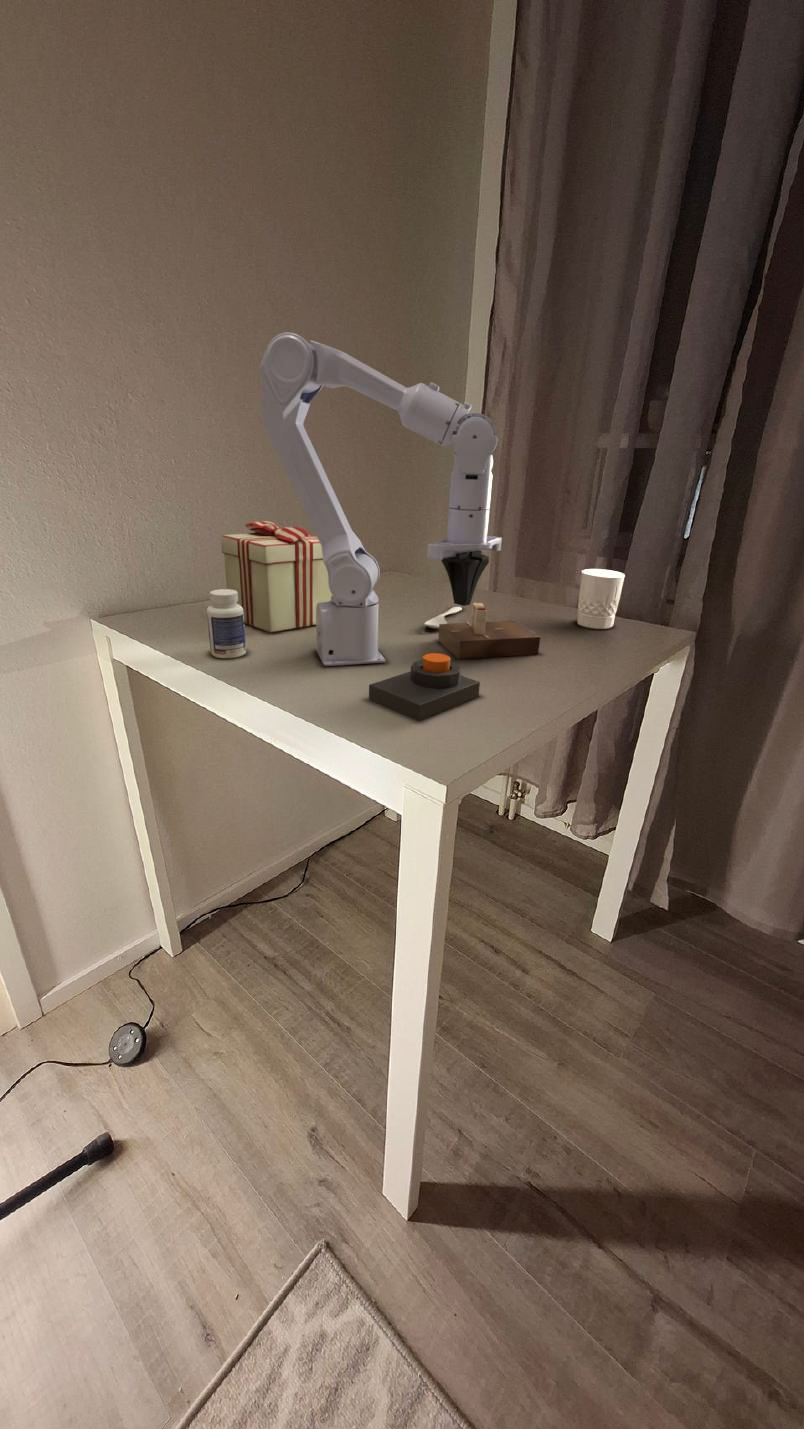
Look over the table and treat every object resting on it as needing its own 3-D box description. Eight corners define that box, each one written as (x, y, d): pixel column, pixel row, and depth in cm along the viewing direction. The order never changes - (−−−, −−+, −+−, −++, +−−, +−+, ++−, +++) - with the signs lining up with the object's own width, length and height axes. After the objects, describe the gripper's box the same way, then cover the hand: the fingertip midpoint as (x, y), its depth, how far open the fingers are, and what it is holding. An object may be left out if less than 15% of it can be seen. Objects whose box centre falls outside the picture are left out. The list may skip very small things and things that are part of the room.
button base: (418, 721, 75) (420, 691, 74) (368, 700, 81) (368, 671, 79) (478, 696, 83) (481, 669, 82) (429, 679, 89) (430, 652, 87)
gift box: (352, 617, 118) (352, 524, 111) (274, 636, 105) (269, 532, 98) (294, 601, 128) (291, 515, 121) (217, 617, 115) (209, 521, 108)
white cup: (582, 617, 125) (590, 567, 121) (621, 624, 121) (630, 573, 116) (567, 624, 119) (575, 572, 115) (607, 632, 115) (617, 579, 111)
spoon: (418, 631, 111) (419, 622, 110) (449, 606, 129) (449, 598, 128) (440, 634, 110) (441, 625, 109) (468, 608, 128) (469, 601, 127)
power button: (437, 676, 80) (437, 663, 79) (416, 669, 82) (417, 656, 81) (454, 670, 82) (455, 657, 81) (434, 663, 84) (435, 651, 83)
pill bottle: (253, 654, 96) (249, 592, 92) (223, 661, 92) (217, 597, 89) (234, 646, 99) (229, 586, 95) (204, 653, 96) (197, 591, 92)
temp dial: (470, 626, 104) (473, 601, 102) (480, 626, 104) (482, 601, 103) (474, 634, 100) (476, 608, 98) (484, 634, 100) (486, 609, 98)
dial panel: (458, 659, 97) (460, 640, 96) (438, 640, 106) (439, 623, 105) (538, 654, 101) (540, 635, 100) (512, 636, 110) (513, 619, 109)
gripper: (458, 513, 79) (451, 617, 84) (522, 508, 88) (512, 601, 94) (418, 508, 83) (413, 607, 89) (482, 504, 93) (475, 593, 98)
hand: (461, 604), depth 92 cm, fingers closed
